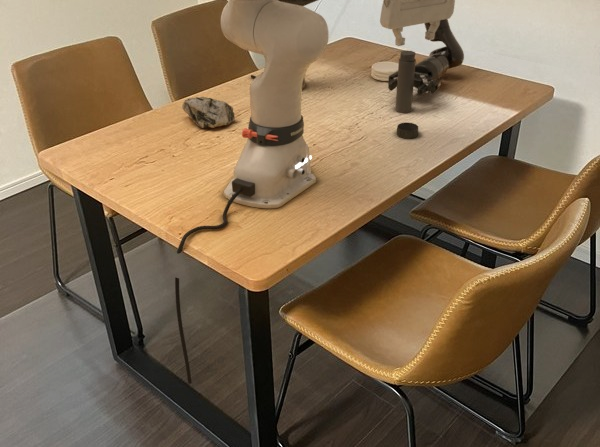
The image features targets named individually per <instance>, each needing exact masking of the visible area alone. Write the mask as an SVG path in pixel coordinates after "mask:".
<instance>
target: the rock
mask: <svg viewBox="0 0 600 447" xmlns="http://www.w3.org/2000/svg"><path fill="white" fill-rule="evenodd" d="M181 109H182V110H183V111H184V113H186V114H187V115H188V117H190V118H191V120H192V122H193V123H194V124H195V125H196V126H198V128H202V129H208V128H211V129H213V128H216V127H222V126H229V125H230V124H231V123H233V122H234V121H235V118H236V116H235V112H234V107H233V106H231V105H230V104H229V103H228V102H226V101H223V100H219V99H215V98H211V97H205V96H200V97H191V98H186V99H185V100H184V101H183V103H182V105H181Z"/></svg>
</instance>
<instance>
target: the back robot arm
mask: <svg viewBox="0 0 600 447" xmlns="http://www.w3.org/2000/svg"><path fill="white" fill-rule="evenodd" d="M278 1H280V2H285V3H290V4H295V5H300V6H304V7H306V6H307V5H310V4H312V3H315V2H317V1H319V0H278ZM423 25H424V27H425V30H426V31H428V30H429V27H430V25H431V24H430V22H428V23H423ZM426 31H425V32H426ZM429 41H430V42H433V43H435V42H441V43H443V44H444V45H445V46H442V47H439V48H436V49H434V50H432V51H431V52H430V53H429V54H428V56H427V58H424V59H422V60H421V61H420V62H418V63H416V64H415V75H414V86H413V88H415V89H417V92H416V93H417V94H416V95H417V97H421V96H423V95H425V94H428V93H429V92H430V94H435V93H437V91H438V90H439V89H440V88H441V86H442V85H441V83H442V78H441V77H443V76H444V75H445V74H446V73H447V72H448V70H451V69H453V68H457V67H460V66H461V65H462V64H463V63H464V60H465V53H464V50H463V48H462V46H461V44H460V43H459V42H458V40H457V38H456V37H455V35H454V33H453V31H452V29H451V26H450V23H449V19H444V20H440V25H439V27H438V28H437V30H436V32H435V36H434V39H433V40H429ZM263 72H264V71H262V72H261V73H263ZM256 77H257V75H254V74H250V78H252V79H255V78H256ZM305 77H306V75H305V76H304V79H303V83H302V90H303V89H305V87H306V80H305ZM397 79H398V71H397V72H395V73H393V74H392V75H390V76H389V81H387V84H388V86H387V88H388V91H391V92H393V91H394V90H395V89H397Z"/></svg>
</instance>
